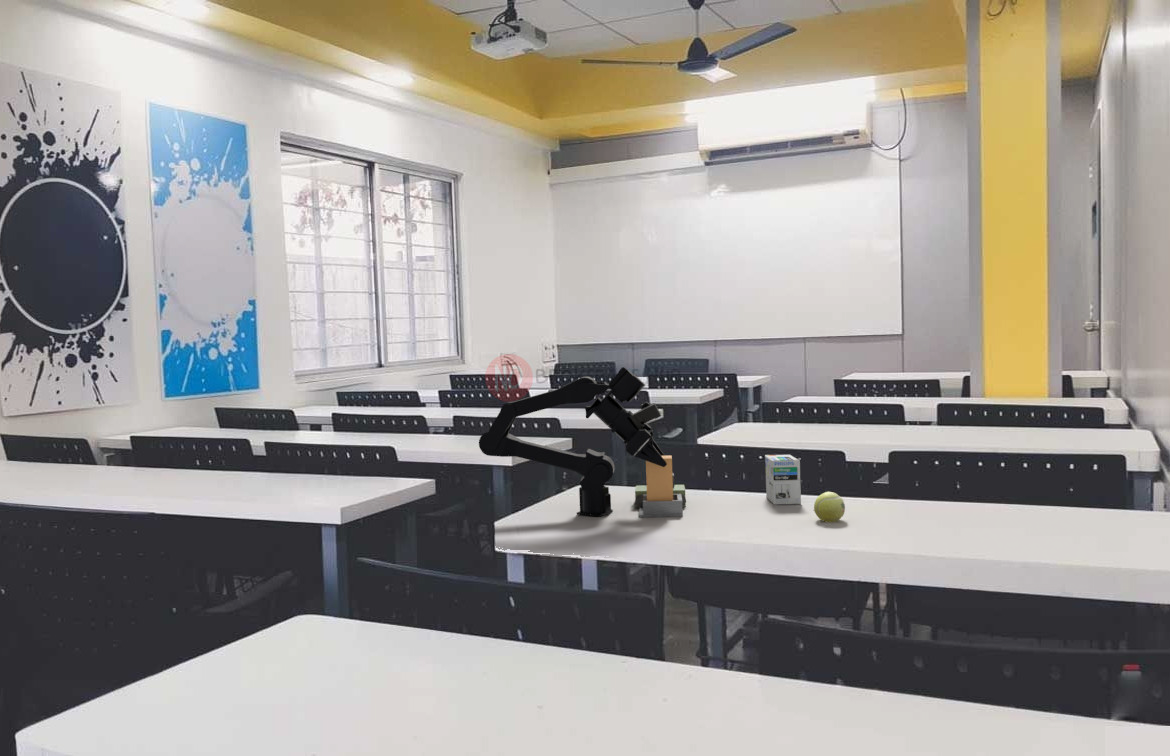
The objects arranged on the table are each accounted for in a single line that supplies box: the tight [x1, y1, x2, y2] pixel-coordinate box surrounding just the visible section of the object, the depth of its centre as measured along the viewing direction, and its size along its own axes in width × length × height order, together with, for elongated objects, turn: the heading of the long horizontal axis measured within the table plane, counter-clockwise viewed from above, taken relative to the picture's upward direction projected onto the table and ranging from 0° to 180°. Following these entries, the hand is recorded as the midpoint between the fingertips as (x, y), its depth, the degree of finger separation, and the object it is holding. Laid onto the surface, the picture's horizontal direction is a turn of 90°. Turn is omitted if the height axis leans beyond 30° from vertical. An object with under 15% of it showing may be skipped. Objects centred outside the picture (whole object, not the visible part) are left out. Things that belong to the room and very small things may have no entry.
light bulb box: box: [764, 454, 802, 505], centre depth 220 cm, size 11×7×11 cm, turn 179°
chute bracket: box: [638, 494, 684, 518], centre depth 211 cm, size 10×10×4 cm
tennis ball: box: [813, 491, 846, 523], centre depth 196 cm, size 6×7×7 cm
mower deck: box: [634, 472, 687, 509], centre depth 221 cm, size 12×10×7 cm
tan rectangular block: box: [645, 455, 673, 501], centre depth 211 cm, size 6×5×12 cm
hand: (665, 462), depth 210 cm, fingers open, 9 cm apart
